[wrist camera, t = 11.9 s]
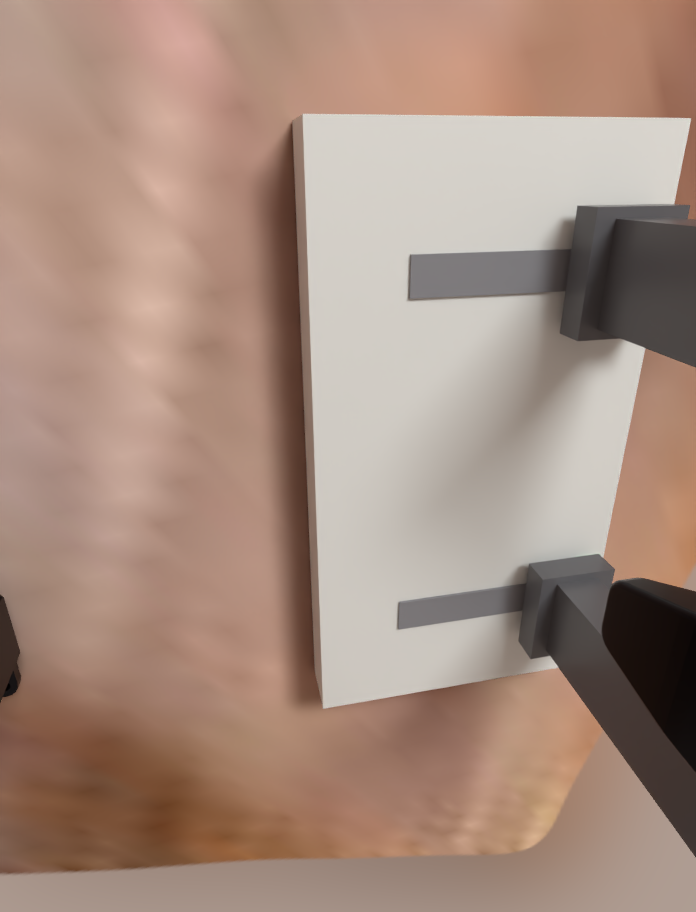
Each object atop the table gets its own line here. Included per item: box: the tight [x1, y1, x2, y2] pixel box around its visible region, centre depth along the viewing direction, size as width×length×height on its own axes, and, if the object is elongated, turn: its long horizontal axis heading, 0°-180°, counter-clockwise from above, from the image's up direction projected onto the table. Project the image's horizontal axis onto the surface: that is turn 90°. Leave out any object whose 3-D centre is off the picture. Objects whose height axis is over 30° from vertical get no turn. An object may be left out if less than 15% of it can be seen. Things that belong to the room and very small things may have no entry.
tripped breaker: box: [518, 554, 696, 857], centre depth 19 cm, size 3×4×9 cm
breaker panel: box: [292, 114, 691, 709], centre depth 21 cm, size 11×20×2 cm, turn 0°
